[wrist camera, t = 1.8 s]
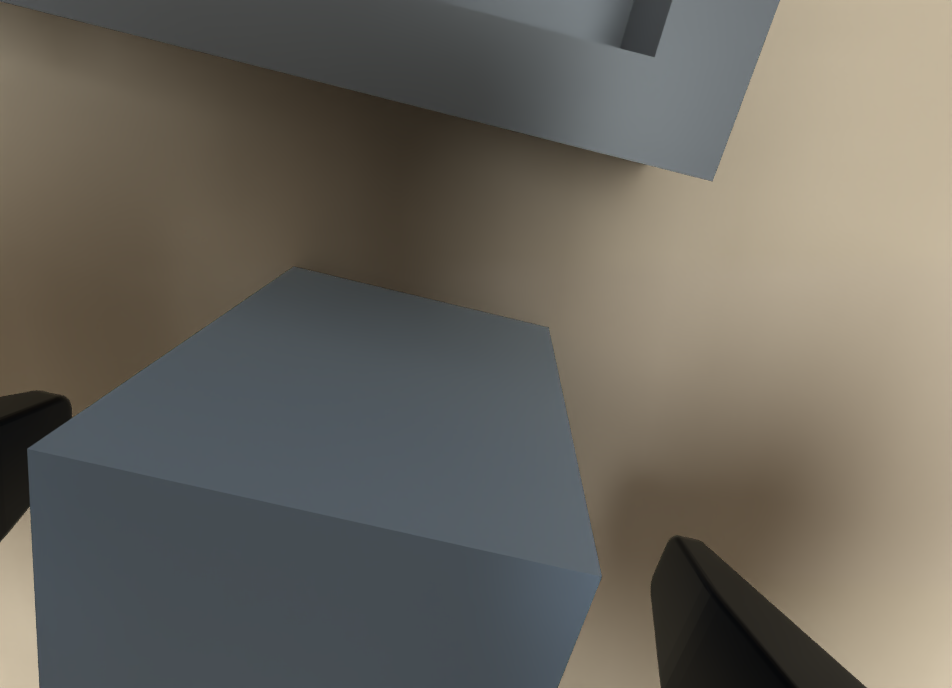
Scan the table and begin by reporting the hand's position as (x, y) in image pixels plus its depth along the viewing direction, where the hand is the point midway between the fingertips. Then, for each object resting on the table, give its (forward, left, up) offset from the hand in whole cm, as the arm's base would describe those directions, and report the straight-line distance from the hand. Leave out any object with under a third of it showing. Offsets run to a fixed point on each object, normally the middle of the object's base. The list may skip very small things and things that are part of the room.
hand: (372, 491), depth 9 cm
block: (0, 0, -2) cm, 3 cm away
